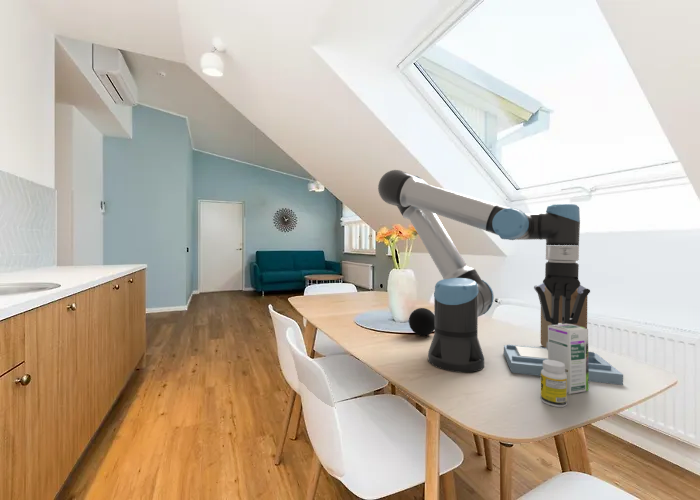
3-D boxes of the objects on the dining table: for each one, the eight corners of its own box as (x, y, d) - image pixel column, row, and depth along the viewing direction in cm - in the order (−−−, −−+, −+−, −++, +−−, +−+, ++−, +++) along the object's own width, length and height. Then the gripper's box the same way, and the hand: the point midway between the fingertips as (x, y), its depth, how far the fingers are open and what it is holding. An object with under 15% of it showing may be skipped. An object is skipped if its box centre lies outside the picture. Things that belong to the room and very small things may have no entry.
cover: (520, 359, 88) (520, 348, 87) (515, 349, 96) (515, 339, 96) (561, 363, 84) (561, 352, 84) (552, 352, 93) (552, 342, 93)
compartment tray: (511, 372, 85) (511, 359, 85) (503, 353, 100) (503, 342, 100) (623, 384, 77) (623, 370, 77) (596, 362, 93) (596, 349, 93)
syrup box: (569, 395, 72) (570, 329, 72) (547, 384, 78) (547, 323, 78) (589, 391, 74) (589, 328, 74) (565, 381, 80) (565, 322, 79)
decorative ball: (440, 338, 117) (440, 310, 116) (413, 339, 115) (414, 311, 115) (430, 331, 127) (430, 305, 126) (405, 332, 125) (405, 306, 125)
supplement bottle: (543, 394, 72) (543, 357, 72) (568, 401, 69) (568, 362, 69) (538, 402, 69) (538, 363, 69) (564, 410, 66) (565, 368, 66)
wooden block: (588, 356, 97) (589, 290, 97) (551, 354, 99) (552, 289, 99) (572, 346, 107) (573, 285, 107) (539, 344, 109) (539, 285, 109)
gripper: (537, 261, 87) (535, 349, 87) (595, 263, 82) (593, 355, 83) (531, 260, 94) (529, 341, 94) (585, 261, 90) (582, 346, 90)
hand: (559, 348), depth 89 cm, fingers closed
